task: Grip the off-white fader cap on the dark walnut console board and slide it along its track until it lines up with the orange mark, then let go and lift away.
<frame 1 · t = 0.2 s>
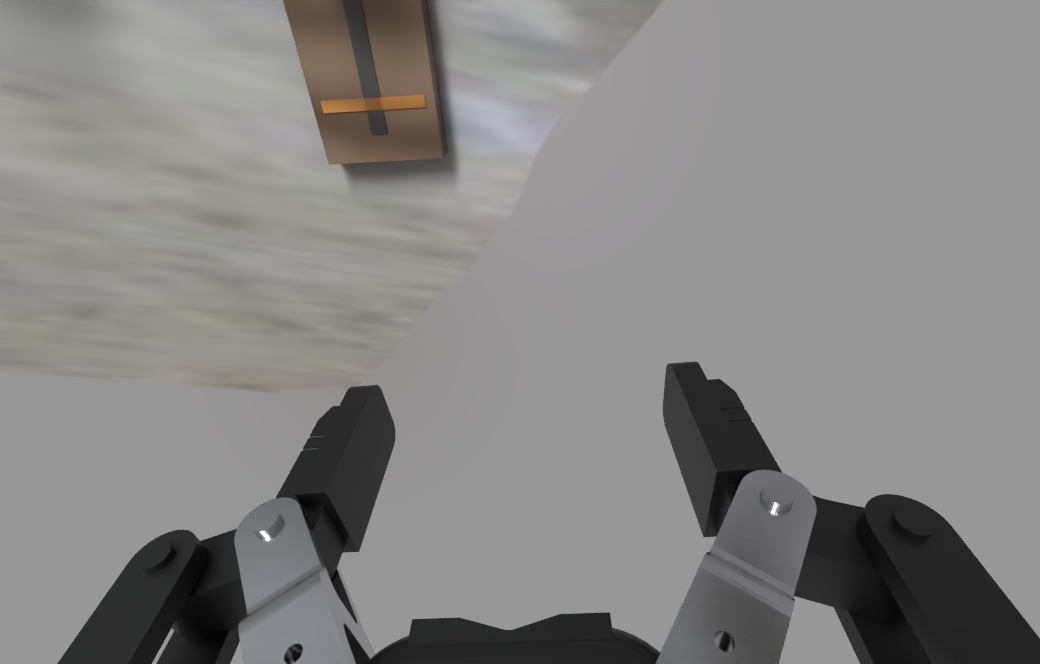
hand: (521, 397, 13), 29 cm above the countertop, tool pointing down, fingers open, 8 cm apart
console board: (361, 3, 31), on the countertop
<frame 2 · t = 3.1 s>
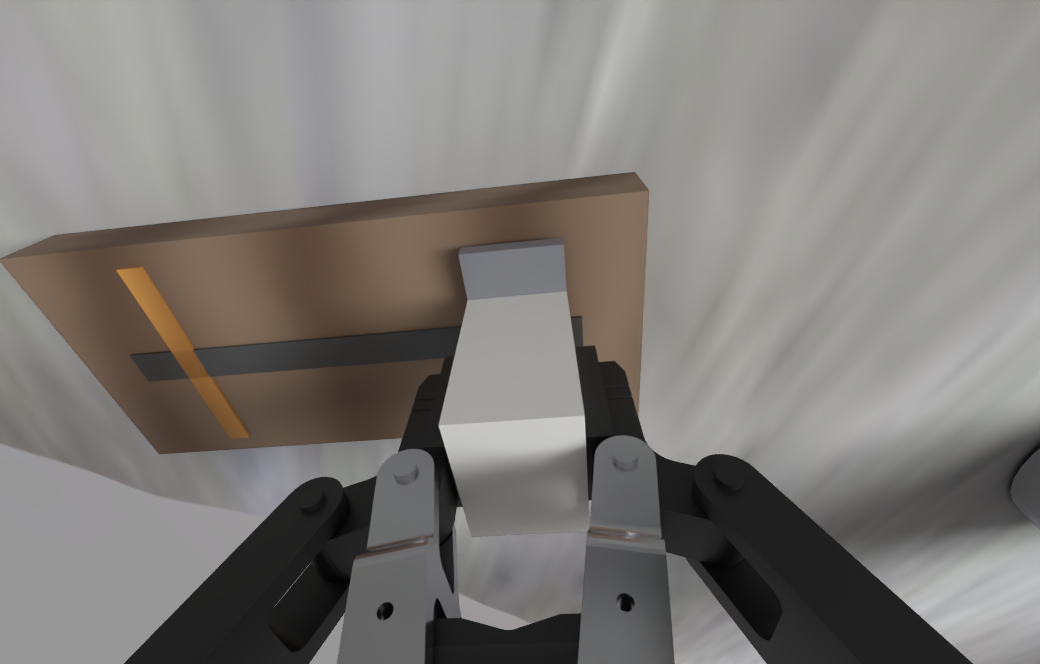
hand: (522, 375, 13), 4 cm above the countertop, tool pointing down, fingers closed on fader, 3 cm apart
fader: (522, 398, 13), point 5 cm above the countertop, slide at 0.0 cm, touching gripper
console board: (370, 319, 17), on the countertop
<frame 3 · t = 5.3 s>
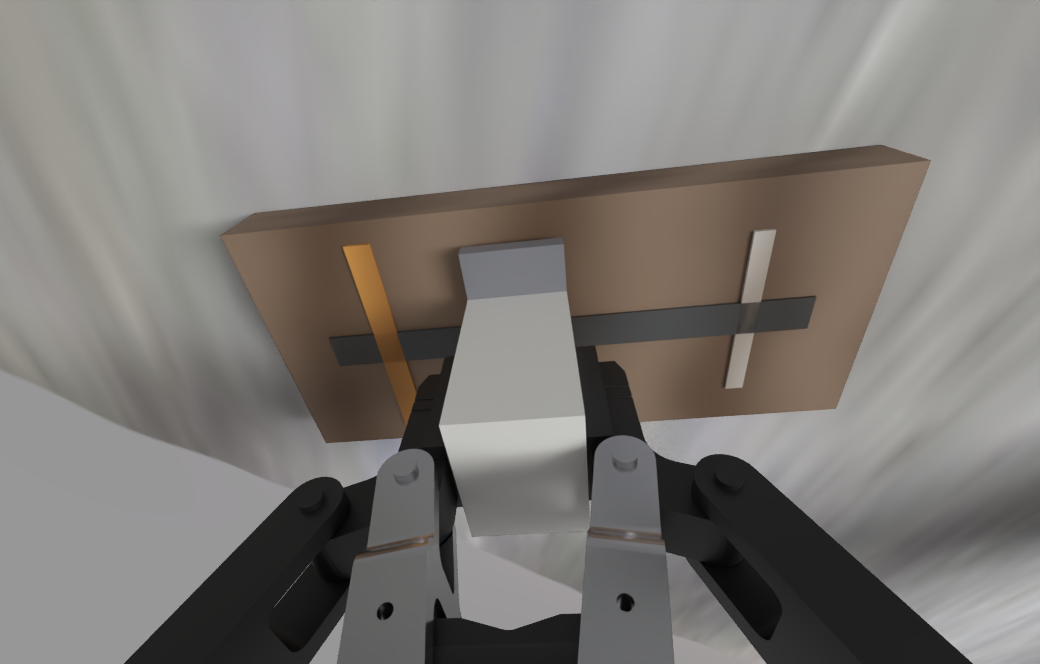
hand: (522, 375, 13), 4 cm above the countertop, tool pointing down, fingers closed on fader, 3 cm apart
fader: (523, 398, 13), point 5 cm above the countertop, slide at 7.3 cm, touching gripper
console board: (559, 302, 17), on the countertop
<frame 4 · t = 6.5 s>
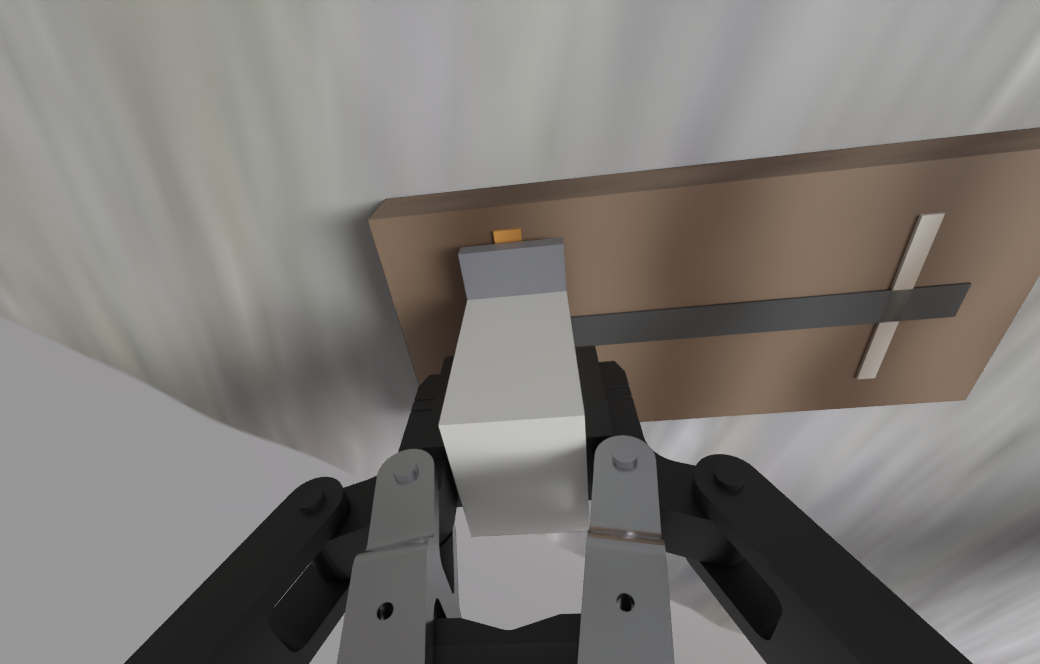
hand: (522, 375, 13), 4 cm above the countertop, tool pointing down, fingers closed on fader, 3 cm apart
fader: (522, 398, 13), point 5 cm above the countertop, slide at 11.9 cm, touching gripper
console board: (684, 291, 16), on the countertop
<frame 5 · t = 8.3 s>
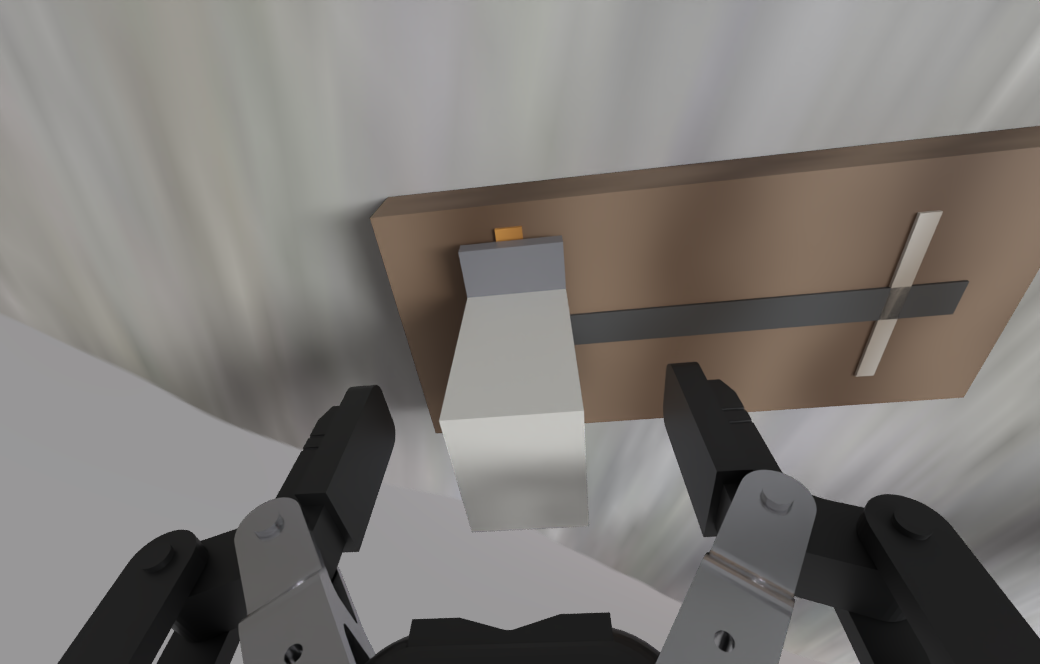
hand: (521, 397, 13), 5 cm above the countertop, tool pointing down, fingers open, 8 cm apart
fader: (522, 395, 13), point 5 cm above the countertop, slide at 11.9 cm
console board: (684, 289, 16), on the countertop
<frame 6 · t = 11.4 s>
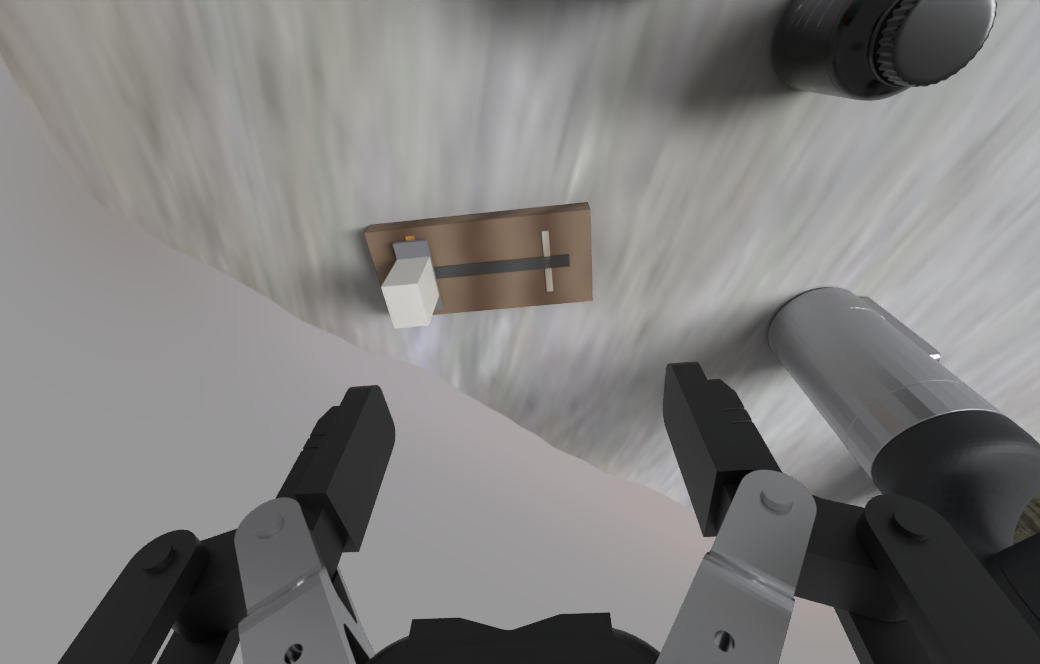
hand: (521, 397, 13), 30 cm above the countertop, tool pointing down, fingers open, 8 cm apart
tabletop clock: (937, 443, 56), on the countertop
supplement bottle: (815, 36, 33), on the countertop
fader: (413, 290, 39), point 5 cm above the countertop, slide at 11.9 cm
console board: (484, 259, 43), on the countertop
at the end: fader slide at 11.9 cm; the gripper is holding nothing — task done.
